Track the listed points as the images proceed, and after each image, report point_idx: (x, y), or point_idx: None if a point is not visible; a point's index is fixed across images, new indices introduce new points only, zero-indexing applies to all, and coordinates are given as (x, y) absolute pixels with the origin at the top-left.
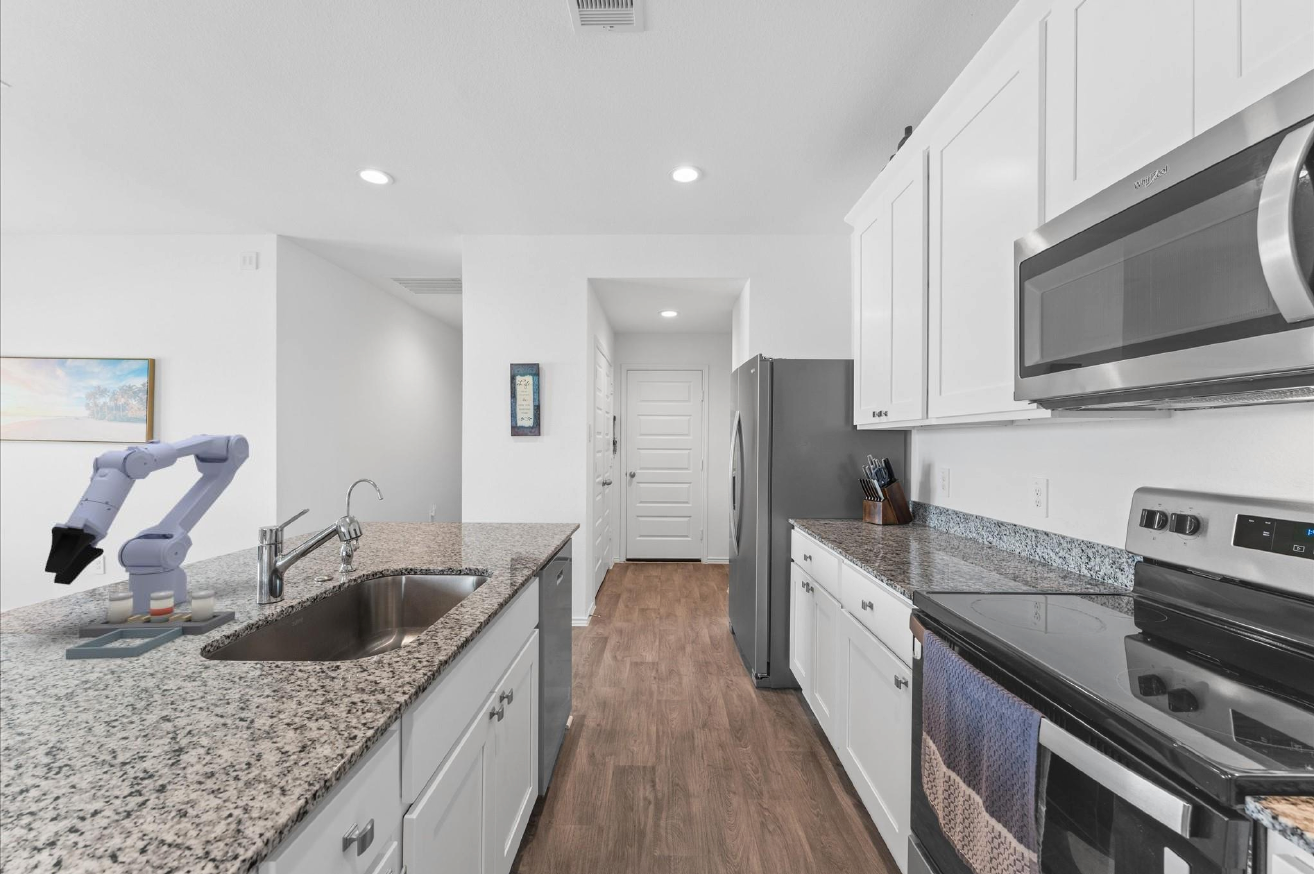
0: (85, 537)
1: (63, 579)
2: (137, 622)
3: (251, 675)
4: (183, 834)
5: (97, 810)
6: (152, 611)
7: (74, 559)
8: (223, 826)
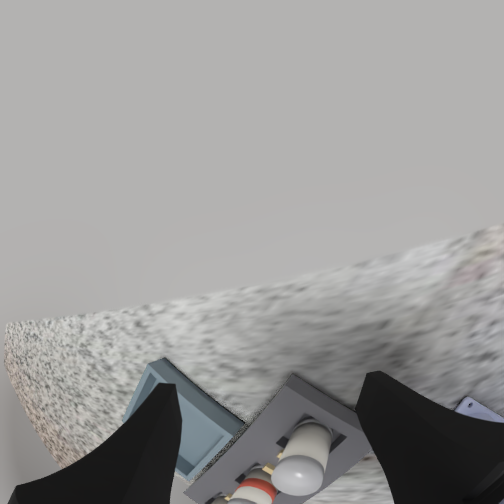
0: None
1: (368, 401)
2: (266, 459)
3: (85, 448)
4: (7, 359)
5: (13, 344)
6: (242, 484)
7: (414, 468)
8: (9, 368)
